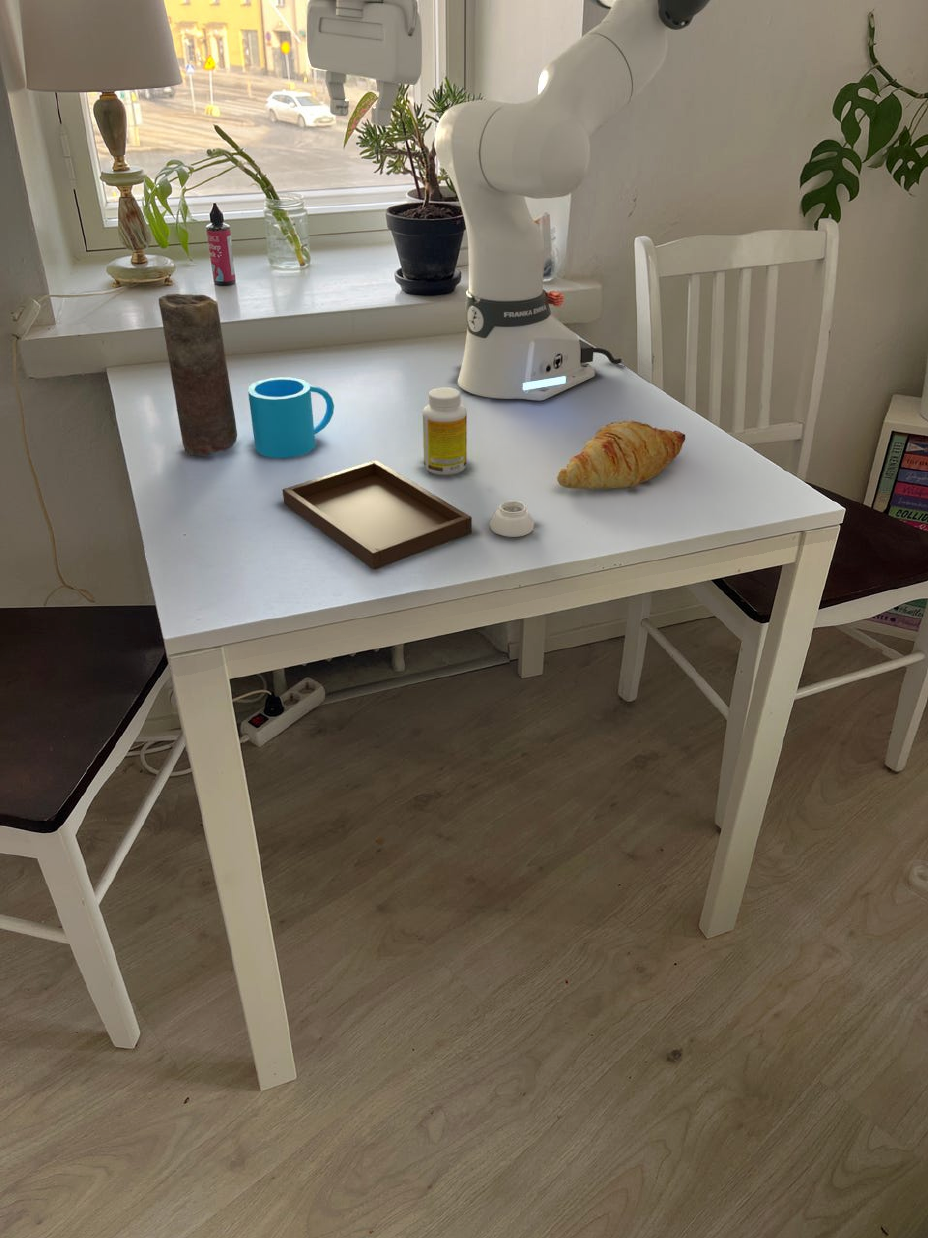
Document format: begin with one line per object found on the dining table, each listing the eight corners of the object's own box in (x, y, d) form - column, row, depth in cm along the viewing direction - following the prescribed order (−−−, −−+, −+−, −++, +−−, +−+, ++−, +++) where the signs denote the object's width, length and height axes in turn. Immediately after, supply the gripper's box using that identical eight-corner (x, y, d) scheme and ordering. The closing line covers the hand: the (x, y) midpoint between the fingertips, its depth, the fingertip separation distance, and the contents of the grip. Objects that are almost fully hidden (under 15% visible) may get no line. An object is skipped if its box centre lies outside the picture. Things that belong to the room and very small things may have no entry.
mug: (273, 463, 127) (266, 404, 122) (244, 443, 132) (236, 385, 128) (350, 441, 133) (346, 383, 128) (320, 422, 138) (315, 367, 134)
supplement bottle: (473, 472, 125) (474, 396, 119) (434, 480, 123) (433, 403, 117) (455, 455, 129) (455, 382, 123) (417, 463, 127) (415, 388, 121)
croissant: (571, 526, 120) (596, 486, 113) (527, 467, 123) (548, 424, 116) (690, 479, 130) (719, 440, 123) (647, 425, 133) (672, 384, 127)
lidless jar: (526, 517, 115) (485, 521, 114) (527, 494, 113) (486, 499, 112) (538, 537, 111) (496, 541, 110) (539, 514, 109) (497, 518, 108)
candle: (188, 435, 134) (163, 289, 123) (241, 434, 135) (221, 288, 124) (179, 458, 128) (152, 306, 117) (235, 457, 128) (214, 305, 117)
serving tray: (376, 474, 124) (376, 459, 123) (471, 532, 111) (472, 516, 110) (283, 504, 117) (282, 488, 116) (374, 570, 104) (372, 553, 103)
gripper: (440, -10, 104) (430, 132, 111) (343, -16, 118) (339, 111, 125) (392, -17, 101) (384, 130, 108) (297, -23, 114) (295, 108, 121)
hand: (359, 120), depth 116 cm, fingers open, 8 cm apart
